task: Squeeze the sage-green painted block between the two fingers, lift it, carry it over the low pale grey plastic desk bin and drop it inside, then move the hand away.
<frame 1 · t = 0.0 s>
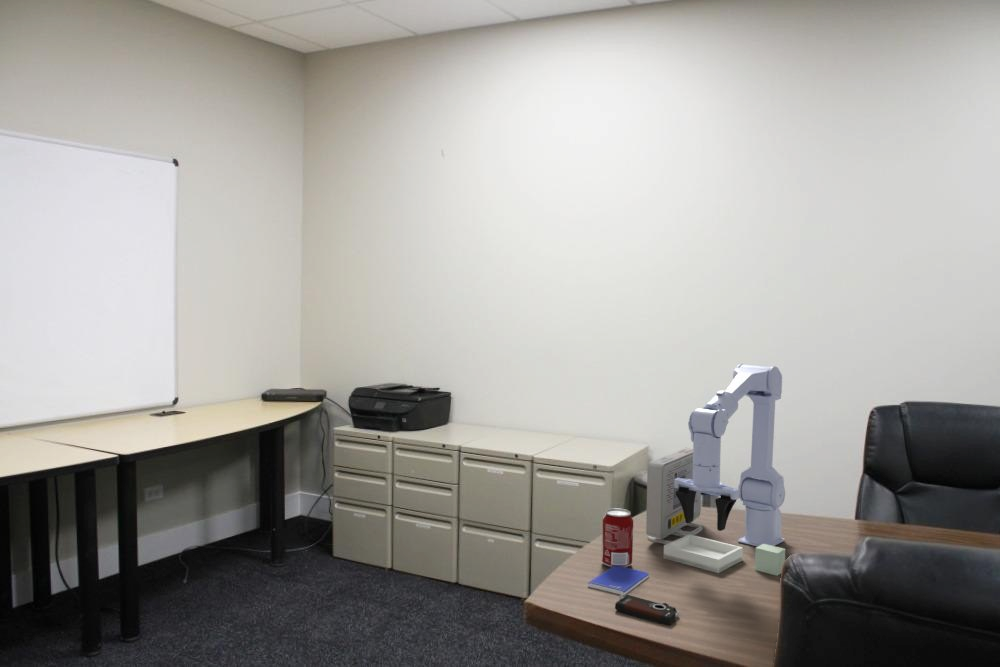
hand: (705, 525, 167), 10 cm above the table, fingers open, 7 cm apart
network device: (675, 534, 195), on the table
hard drive: (618, 585, 161), on the table
sage block: (769, 570, 169), on the table
soda can: (616, 565, 171), on the table
desk bin: (703, 559, 175), on the table
camera: (648, 616, 145), on the table
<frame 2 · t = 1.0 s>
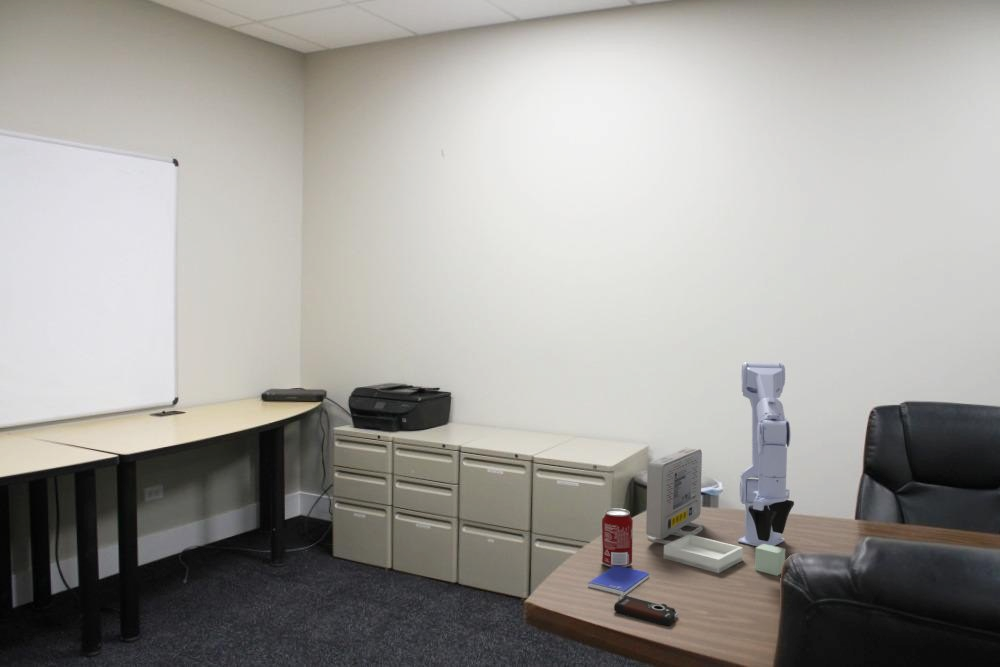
hand: (770, 536, 168), 8 cm above the table, fingers open, 7 cm apart
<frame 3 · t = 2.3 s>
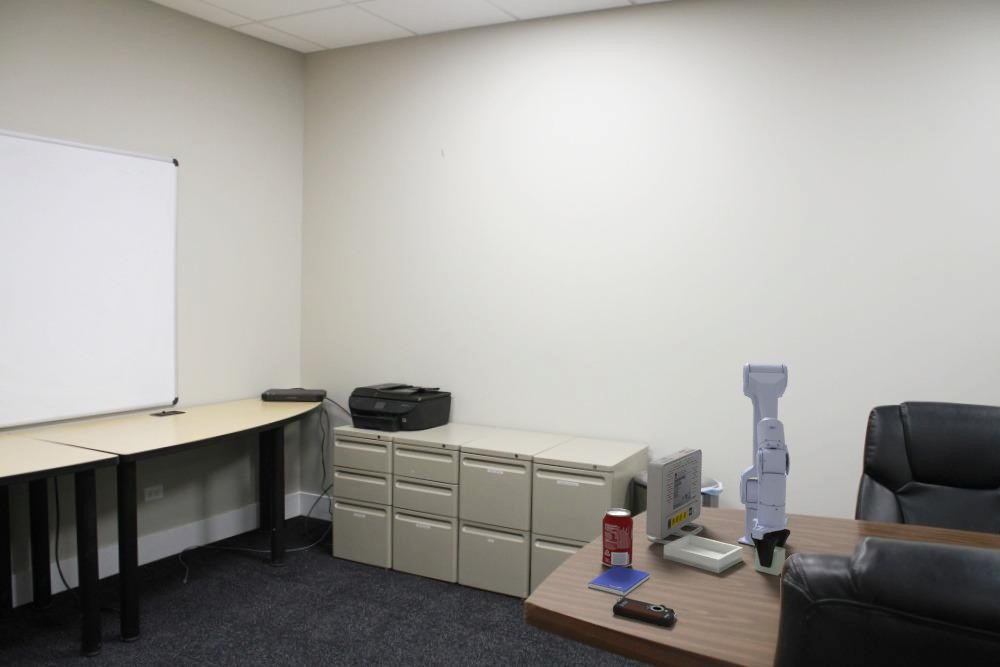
hand: (769, 563, 169), 1 cm above the table, fingers closed on sage block, 4 cm apart
sage block: (769, 570, 169), on the table, touching gripper
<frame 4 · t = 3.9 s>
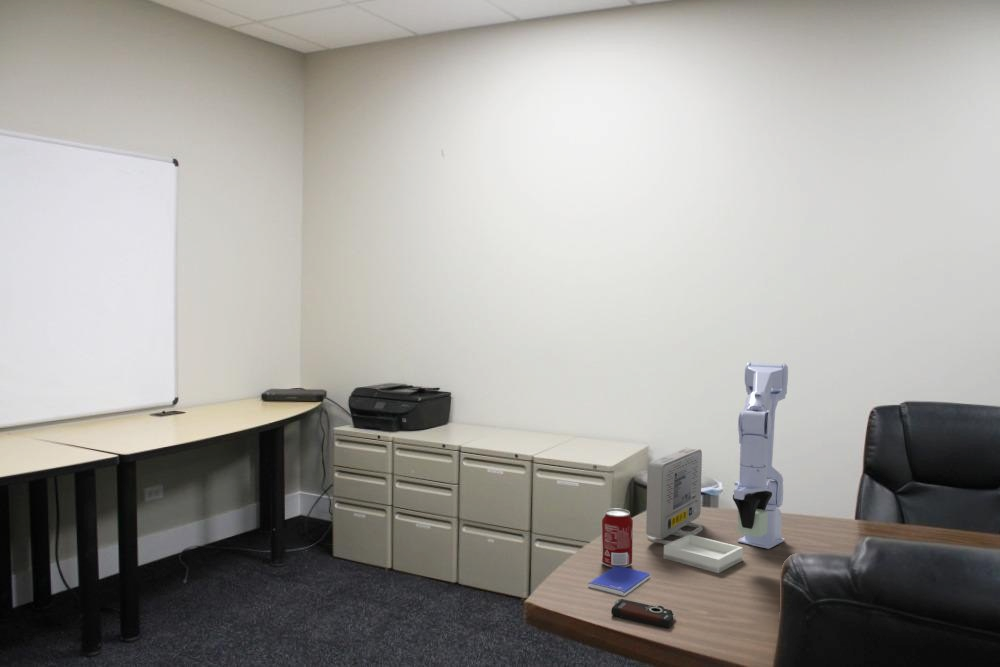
hand: (751, 525, 170), 9 cm above the table, fingers closed on sage block, 4 cm apart
sage block: (752, 532, 170), point 8 cm above the table, touching gripper
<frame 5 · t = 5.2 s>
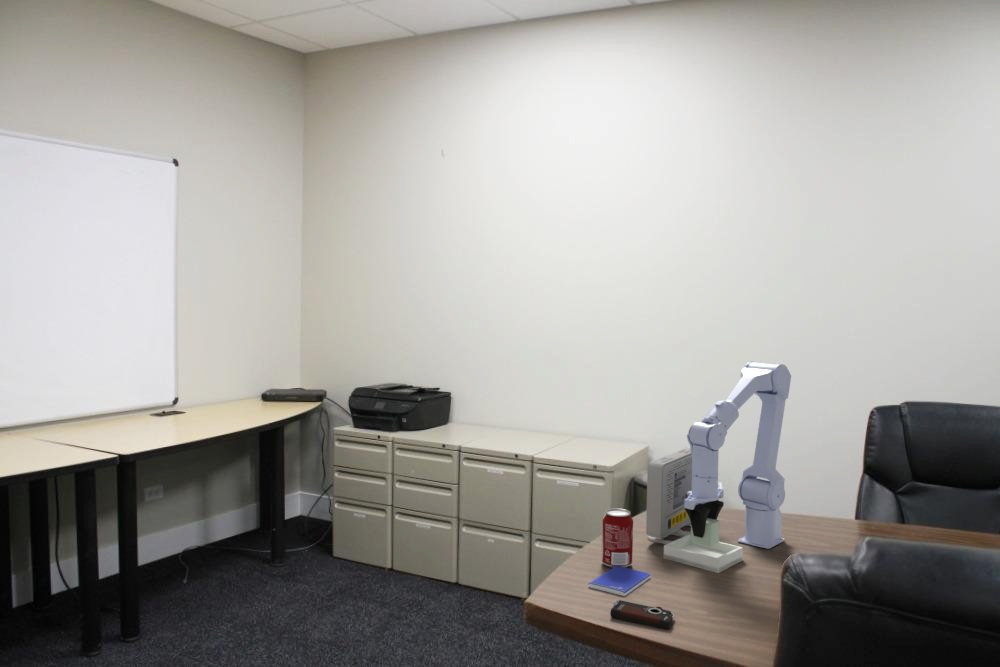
hand: (703, 534, 175), 6 cm above the table, fingers closed on sage block, 4 cm apart
sage block: (704, 541, 175), point 4 cm above the table, touching gripper
when the fingers open (4 cm above the table, at t = 6.0 s): sage block drops 1 cm, resting on desk bin.
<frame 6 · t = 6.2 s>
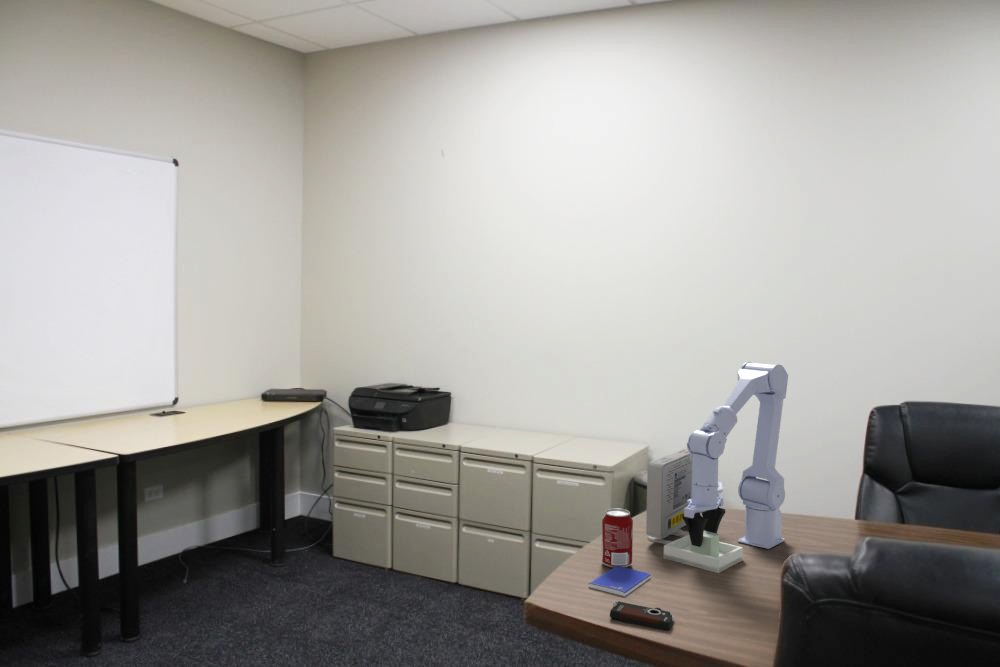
hand: (703, 542, 175), 4 cm above the table, fingers open, 6 cm apart
sage block: (704, 555, 175), point 1 cm above the table, touching desk bin
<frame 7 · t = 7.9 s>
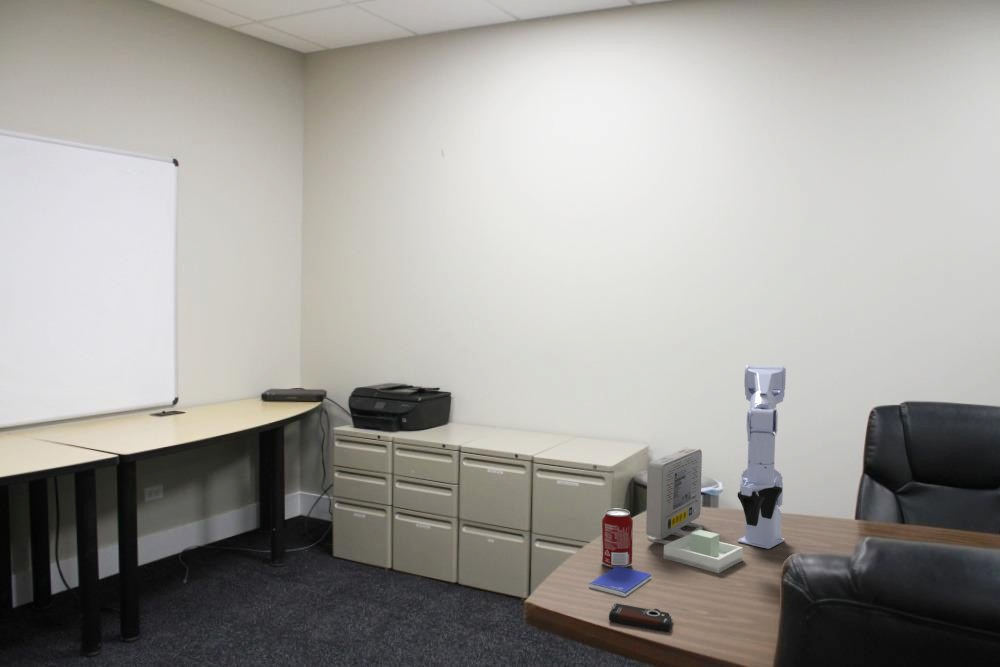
hand: (759, 521, 173), 9 cm above the table, fingers open, 7 cm apart
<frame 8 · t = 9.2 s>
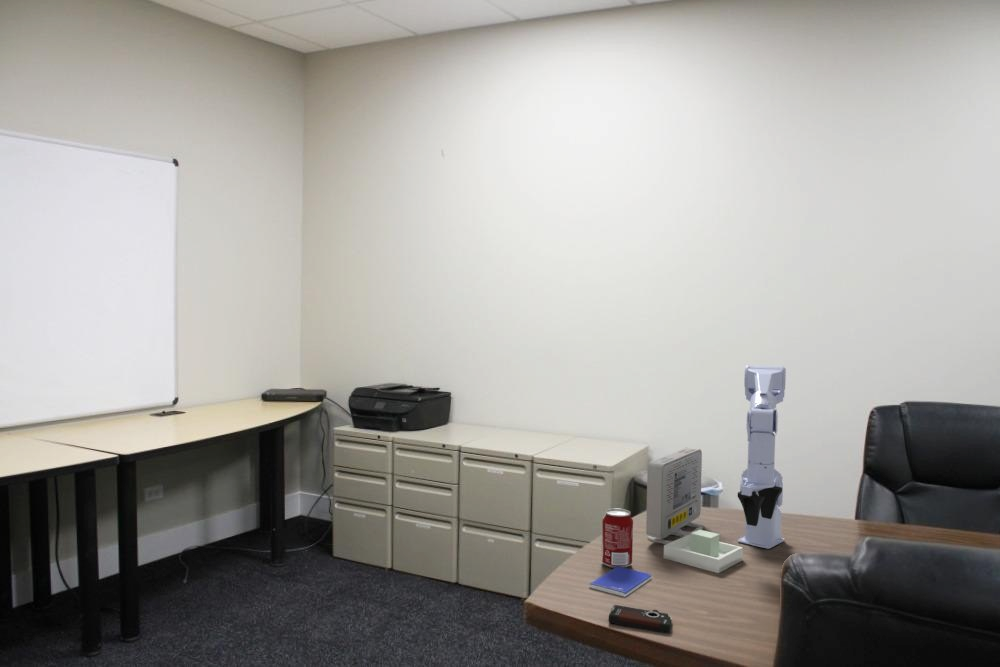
hand: (759, 521, 173), 9 cm above the table, fingers open, 7 cm apart
at the end: sage block inside the target area on the desk bin (0.4 cm from its centre), point 1.0 cm above the desk bin's base; the gripper is holding nothing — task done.
